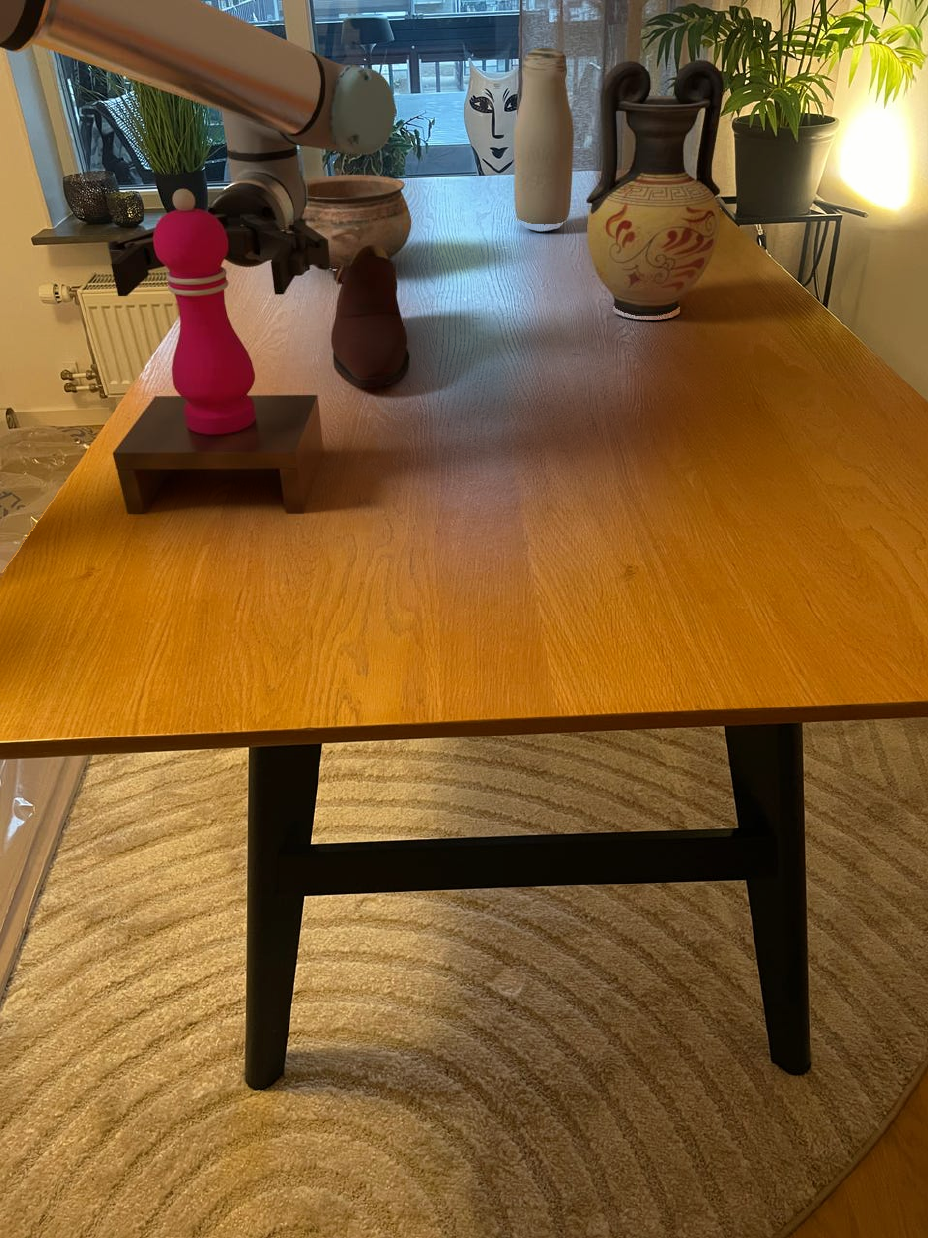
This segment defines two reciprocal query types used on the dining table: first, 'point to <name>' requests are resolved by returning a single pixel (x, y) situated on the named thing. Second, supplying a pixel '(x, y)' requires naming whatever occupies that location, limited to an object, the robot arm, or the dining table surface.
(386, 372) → the dress shoe
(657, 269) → the amphora
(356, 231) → the cooking pot
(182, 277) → the pepper mill
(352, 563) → the dining table surface
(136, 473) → the shelf
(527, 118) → the tan bottle
